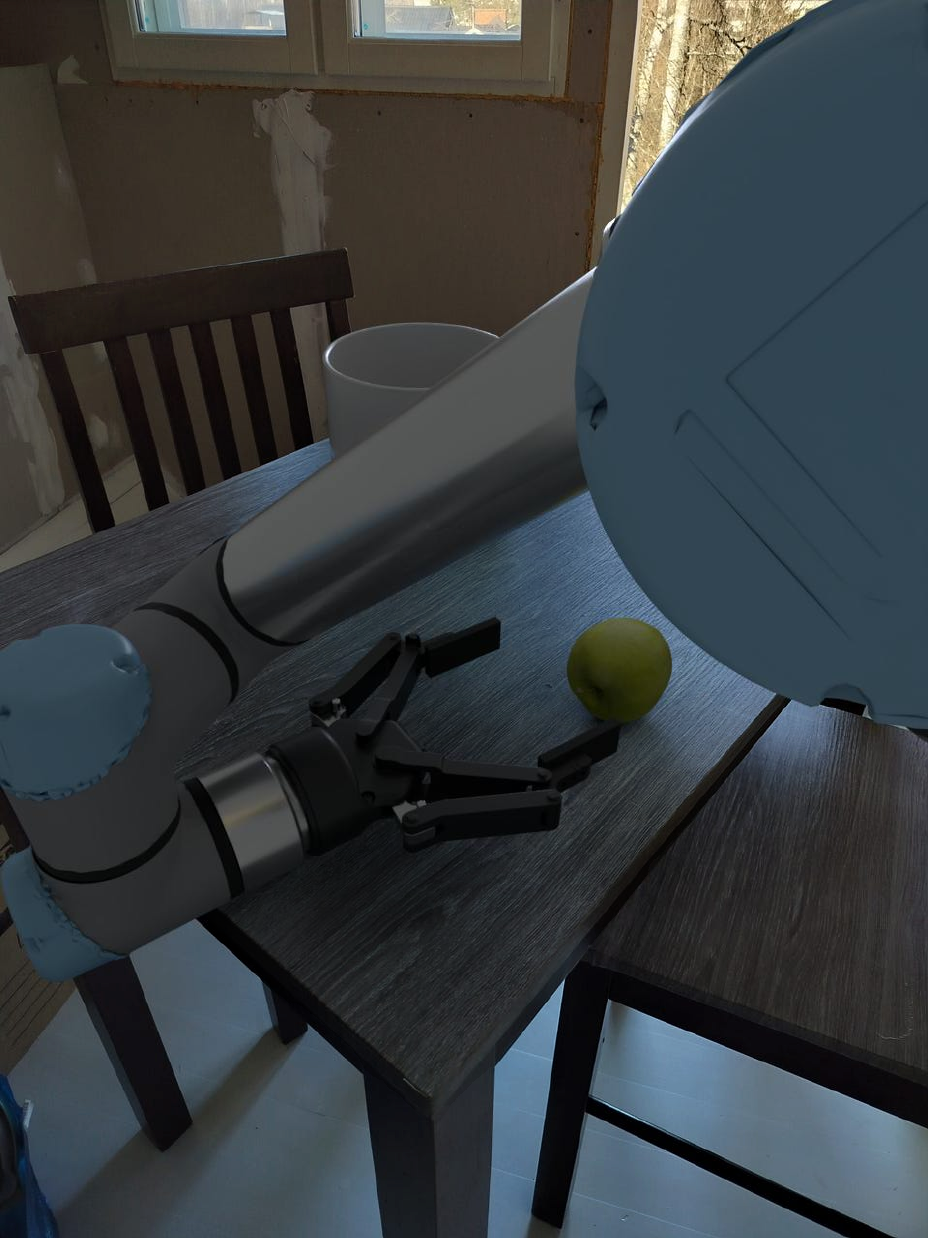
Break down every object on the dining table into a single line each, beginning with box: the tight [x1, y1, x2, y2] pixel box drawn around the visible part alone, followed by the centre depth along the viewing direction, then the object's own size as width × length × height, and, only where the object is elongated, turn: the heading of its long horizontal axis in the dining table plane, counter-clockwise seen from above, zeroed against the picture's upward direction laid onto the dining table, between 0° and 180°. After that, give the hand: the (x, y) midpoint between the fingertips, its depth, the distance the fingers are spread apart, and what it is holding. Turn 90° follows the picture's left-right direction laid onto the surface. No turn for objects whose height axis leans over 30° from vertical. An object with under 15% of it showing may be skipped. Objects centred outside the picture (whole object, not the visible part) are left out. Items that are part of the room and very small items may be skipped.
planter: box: [321, 322, 500, 461], centre depth 90 cm, size 19×19×18 cm
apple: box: [566, 617, 673, 724], centre depth 67 cm, size 8×9×8 cm
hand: (552, 679), depth 62 cm, fingers open, 13 cm apart
